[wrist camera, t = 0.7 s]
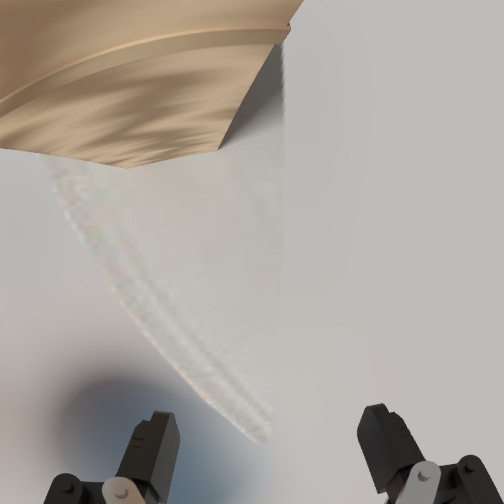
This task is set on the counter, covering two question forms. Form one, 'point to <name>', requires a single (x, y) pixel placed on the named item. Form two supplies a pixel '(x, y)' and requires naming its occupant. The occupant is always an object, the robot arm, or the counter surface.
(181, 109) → the wooden block tower
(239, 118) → the counter surface
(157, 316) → the counter surface
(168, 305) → the counter surface
